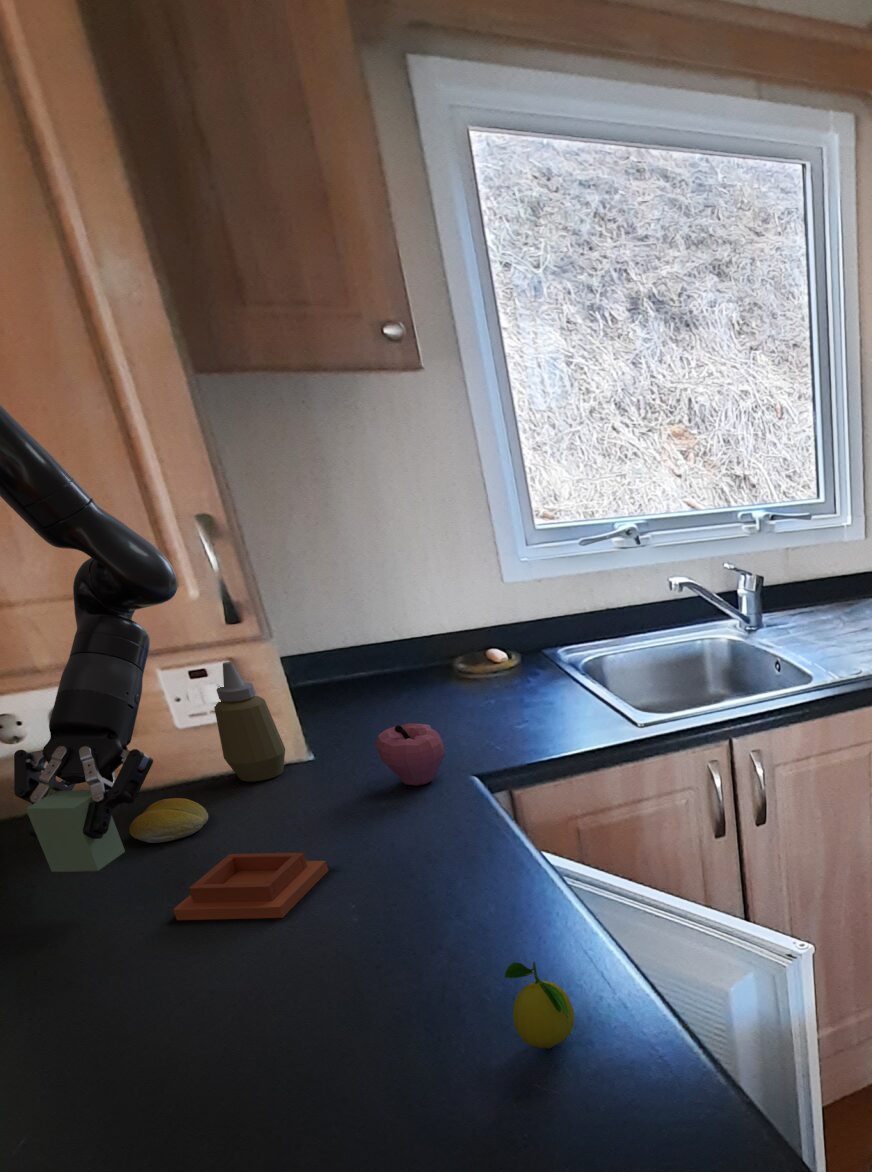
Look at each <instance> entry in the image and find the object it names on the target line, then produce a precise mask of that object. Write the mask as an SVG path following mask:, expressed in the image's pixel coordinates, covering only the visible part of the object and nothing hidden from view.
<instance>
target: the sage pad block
mask: <svg viewBox="0 0 872 1172" xmlns="http://www.w3.org/2000/svg"><path fill="white" fill-rule="evenodd" d="M89 803H94V801H93V799H92V796H91V790H90V789H87V790H85V789H81V790H79V789H78V790H73V789H72V790H67V791H55V792H53V793H51V794H50V795H49V794H48V795H47V796H46V797H44V798H43V799H41V800H39V801H38V802H36V803H34V804H30V805H29V806H27V807H26V808H25V810H26V813H27V816H28V819H29V818H30V820H31V823H32V825H33V828H34V830H35V833H36V835H37V837H38V838H37V840H38V842H39V844H40V847H41V849H42V853H43V854H44V857H45V859H46V862H47V864H48V866H49V869H50V871H51V872H52V873H66V872H67V873H68V872H70V873H74V872H99V871H101V870H102V869H103V868H104V867H106V866H107V865H109V864H110V863H112V862H113V861H115V860H116V859H118V857H120V856H122V855H123V854H124V853H126V851H125V847H124V845H123V842H122V840H121V837H120V834H119V831H118V829H117V826H116V823H115V821H114V818H113V814H112V815H111V819H110V824H109V828H108V831H107V832H106V834H103V837H102V838H101V839H93V838H90V837H88V836H86V835H84V833H83V828H84V824H85V819H86V815H87V811H88V807H89Z"/></svg>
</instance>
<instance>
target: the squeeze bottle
mask: <svg viewBox="0 0 872 1172" xmlns="http://www.w3.org/2000/svg"><path fill="white" fill-rule="evenodd" d="M222 677H223V678H222V679H223V680H222V681H223V685H224V687H220V686H219V687H220V688H218V687H217V688H216V694H217V696H218V699H219V701H221V702H219V701H218V702H217V703H216V704H215V705H216V706H214V707H213V709H214V714H215V719H216V724H217V729H218V734H219V740H220V745H221V750H222V755H223V756H222V757H223V759H224V761H225V762H226V763H227V764H228V766H229V767H230V768H231V769H232V771H233V772H234V773H235V775H236V776H237V777H238V778H239V780H240V781H243V782H262V781H266V780H270V779H274V778H276V777H278V776H280V775H282V774H283V773H284V767H285V756H286V747H285V744H284V742H283V739H282V737H281V735H280V733H279V730H278V727H277V725H276V724H275V721H274V719H273V716H272V713H271V712H270V709H269V707H268V704H267V702H266V700H265V699H264V698H263V697H262V696H259V695H256V690H255V687H254V684H252V682H247V681H246V683H244V682H245V681H244V680H243V679H242V677H241V676H240V674H239V672H238V670H237V668H236V667H235V665H234V664H233V662H232V661H226V662H223V663H222Z"/></svg>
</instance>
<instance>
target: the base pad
mask: <svg viewBox="0 0 872 1172" xmlns="http://www.w3.org/2000/svg"><path fill="white" fill-rule="evenodd" d="M327 873H329V868H328V864H327V860H307V859H306V855H305V853H304V852H271V853H270V852H265V853H263V852H262V853H261V852H260V853H229V854H228V855H227V856H225V857H224V858H222V860H220V861H219V862H218V863H217V864H215V865H214V866H213V867H212V868H211V869H210V870H208V871H207V872H206V873H205V874H204V875H203V876H201V877H200V878H199V879H198V880H196V881H195V883H193V884H192V885H190V887H188V890H189V893H190V894H189V895H188V896H187V897H186V898H185V899H183V900H182V901H181V902H180V903H179V904H177V905H176V906H175V907H174V908H173V909H172V911H173V914H174V916H175V919H176V921H205V920H206V921H209V920H244V919H246V920H247V919H250V920H251V919H283V918H284V917H285V916H286V915H287V914H288V913H289V912H290V911H291V910H292V909H293V908H294V907H295V906H296V905H297V904H298V903H299V902H300V901H301V900H302V899H303V898H304V896H306V895H307V894H308V893H309V892H310V891H311V889H313V887H314V886H316V884H317V883H318V882H319V881H320V880H321V879H322V878H323V877H324V876H325V875H326V874H327Z"/></svg>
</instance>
